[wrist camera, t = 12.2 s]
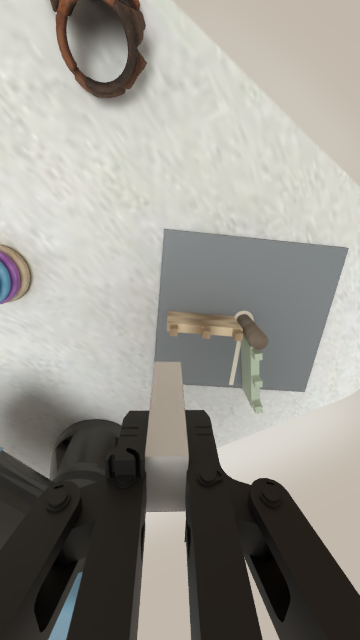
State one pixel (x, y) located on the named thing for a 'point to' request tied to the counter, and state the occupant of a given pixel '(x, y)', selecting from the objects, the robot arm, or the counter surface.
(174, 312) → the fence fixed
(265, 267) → the board
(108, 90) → the brown jagged ring
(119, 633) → the robot arm
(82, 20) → the counter surface
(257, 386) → the folding panel
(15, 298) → the stacking toy
